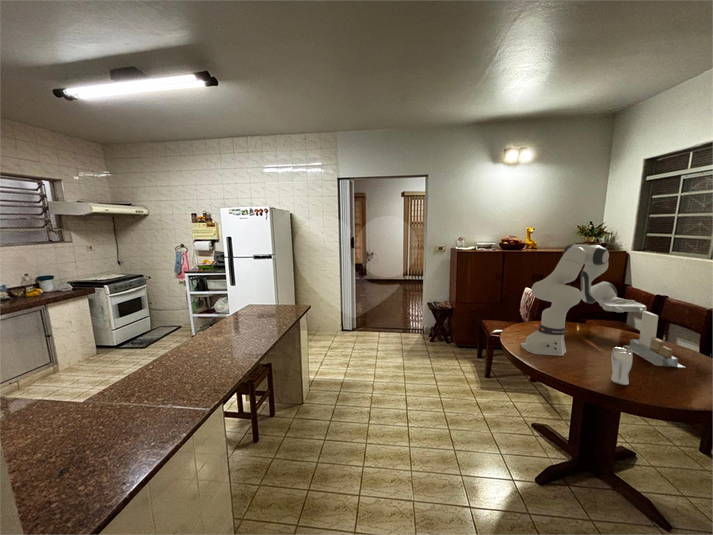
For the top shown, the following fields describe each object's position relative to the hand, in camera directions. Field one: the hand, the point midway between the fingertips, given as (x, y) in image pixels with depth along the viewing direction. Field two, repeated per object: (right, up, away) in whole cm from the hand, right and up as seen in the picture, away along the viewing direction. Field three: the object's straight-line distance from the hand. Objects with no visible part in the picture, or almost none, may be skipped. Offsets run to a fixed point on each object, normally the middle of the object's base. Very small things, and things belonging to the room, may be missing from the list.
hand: (632, 311), depth 166 cm
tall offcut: (-5, -22, -17) cm, 28 cm away
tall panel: (-3, -21, -11) cm, 24 cm away
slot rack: (-4, -23, -14) cm, 27 cm away
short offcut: (-6, -23, -23) cm, 33 cm away
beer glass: (-41, -27, -36) cm, 60 cm away
